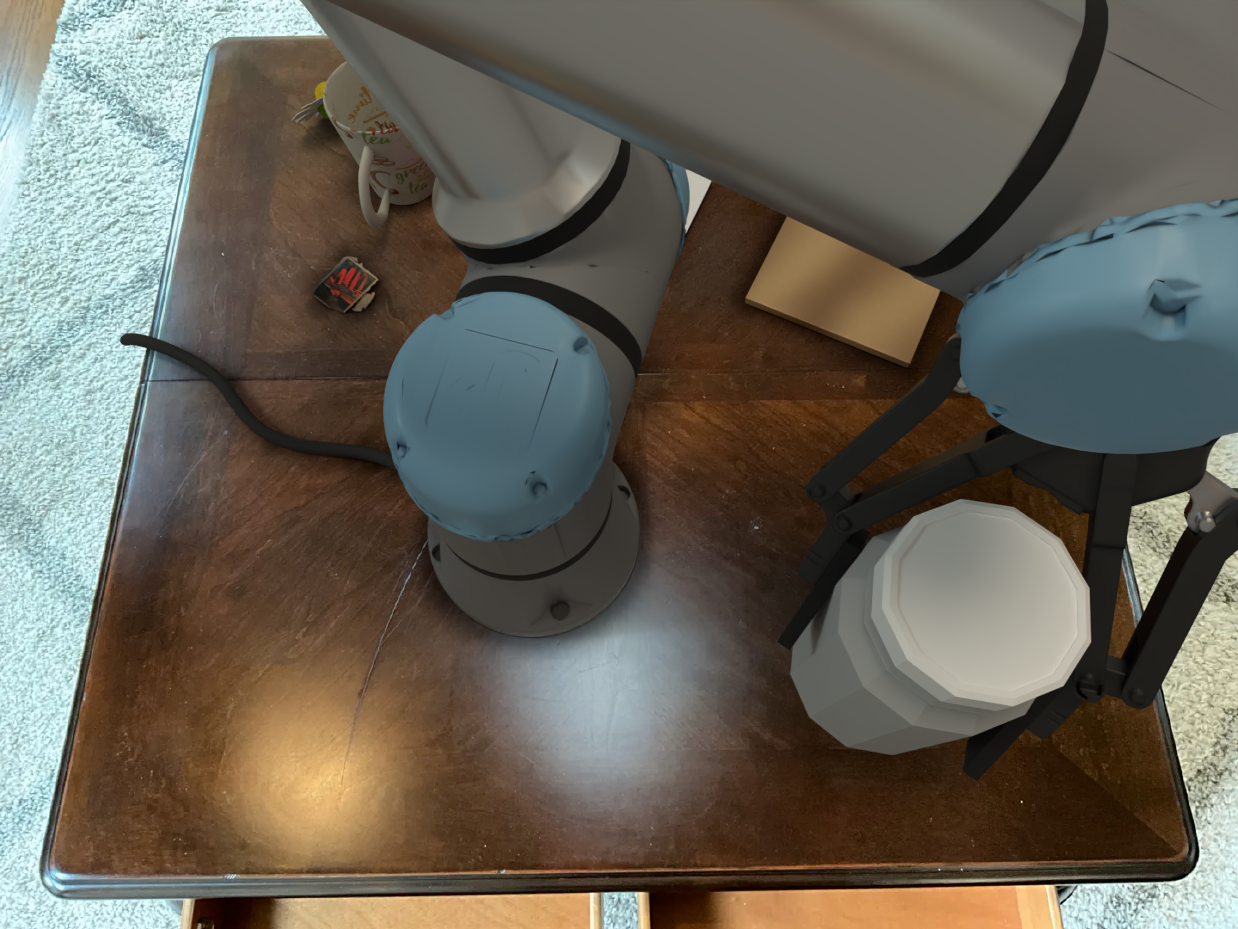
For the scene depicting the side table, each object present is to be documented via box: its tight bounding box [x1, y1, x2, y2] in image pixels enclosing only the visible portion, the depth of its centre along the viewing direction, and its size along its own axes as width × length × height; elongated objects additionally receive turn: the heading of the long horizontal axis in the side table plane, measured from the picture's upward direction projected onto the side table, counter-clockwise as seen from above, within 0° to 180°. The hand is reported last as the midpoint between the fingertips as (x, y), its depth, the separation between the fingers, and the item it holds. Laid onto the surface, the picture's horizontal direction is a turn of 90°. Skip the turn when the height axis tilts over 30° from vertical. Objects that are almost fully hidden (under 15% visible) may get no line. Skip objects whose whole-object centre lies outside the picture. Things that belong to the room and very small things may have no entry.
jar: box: [789, 498, 1091, 756], centre depth 43 cm, size 10×10×18 cm
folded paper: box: [685, 169, 712, 233], centre depth 75 cm, size 12×12×2 cm
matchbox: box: [312, 254, 379, 313], centre depth 73 cm, size 5×5×1 cm
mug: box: [323, 60, 436, 229], centre depth 72 cm, size 8×13×10 cm, turn 175°
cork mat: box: [744, 216, 942, 369], centre depth 73 cm, size 14×14×1 cm
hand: (878, 695), depth 43 cm, fingers closed on jar, 10 cm apart
